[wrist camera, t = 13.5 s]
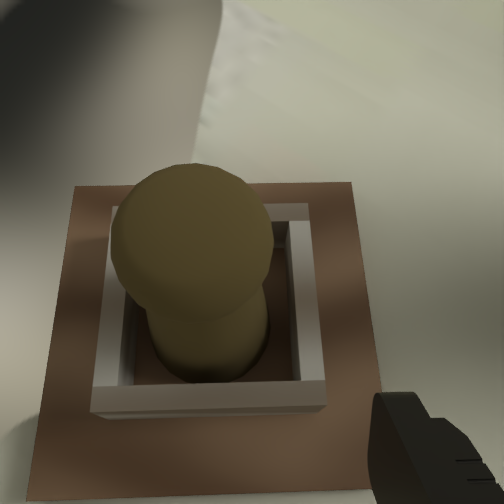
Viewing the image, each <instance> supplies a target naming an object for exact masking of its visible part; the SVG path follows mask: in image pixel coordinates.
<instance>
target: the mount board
mask: <svg viewBox="0 0 504 504" xmlns="http://www.w3.org/2000/svg"><path fill="white" fill-rule="evenodd" d="M248 185H249V186H250V187H251V188H252V189H253V190H254V191H255V192H256V193H257V194H258V196H259V197H260V199H261V201H262V203H263V205H264V207H265V209H266V210H267V212H268V215H269V217H270V220H271V224H272V231H273V238H274V247H273V252H272V257H271V262H270V267H269V272H268V274H267V276H266V278H265V279H264V281H263V283H262V287H263V291H264V295H265V299H266V303H267V307H268V311H269V319H270V326H271V329H270V334H269V339H268V344H267V347H266V349H265V351H264V353H263V354H262V356H261V358H260V360H259V362H258V363H257V364H256V365H255V366H254V367H253V368H252V369H250V370H249V371H248V372H247V373H246V374H245V375H244V376H242V377H240V378H238V379H236V380H234V381H231V382H229V383H202V384H191V383H187V382H185V381H183V380H181V379H180V378H178V377H176V376H175V375H173V374H171V373H170V372H169V371H168V370H167V369H166V368H165V366H164V365H163V364H162V363H161V361H160V360H159V359H158V358H157V355H156V353H155V350H154V347H153V344H152V342H151V337H150V331H149V325H148V319H147V313H146V309H144V308H143V307H141V306H139V305H138V304H137V303H136V301H135V300H134V299H133V298H132V297H131V296H130V294H129V293H128V292H127V291H126V290H125V288H124V287H123V286H122V284H121V283H120V282H119V280H118V277H117V274H116V272H115V269H114V266H113V263H112V260H111V254H110V243H111V225H112V222H113V220H114V217H115V215H116V212H117V209H118V207H119V205H120V204H121V203H122V201H123V200H124V199H125V198H126V196H127V195H128V194H129V193H130V191H131V190H132V189H133V188H134V187H135V186H136V185H125V186H75V189H74V195H73V202H72V208H71V215H70V221H69V227H68V234H67V240H66V247H65V254H64V260H63V266H62V273H61V279H60V286H59V292H58V298H57V305H56V311H55V317H54V324H53V330H52V337H51V344H50V350H49V356H48V362H47V369H46V376H45V382H44V388H43V395H42V401H41V408H40V414H39V420H38V427H37V433H36V440H35V446H34V453H33V459H32V465H31V472H30V478H29V485H28V491H27V498H26V501H52V500H80V499H107V498H134V497H162V496H189V495H216V494H244V493H271V492H298V491H326V490H353V489H372V487H371V483H370V479H369V473H368V463H367V453H368V442H369V432H370V422H371V412H372V402H373V397H374V395H375V393H381V392H382V389H381V382H380V375H379V369H378V362H377V355H376V348H375V341H374V334H373V328H372V321H371V314H370V307H369V300H368V294H367V287H366V280H365V273H364V266H363V259H362V253H361V246H360V239H359V232H358V225H357V218H356V212H355V205H354V198H353V191H352V184H351V182H324V183H257V184H248Z"/></svg>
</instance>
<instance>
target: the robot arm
mask: <svg viewBox="0 0 504 504" xmlns="http://www.w3.org/2000/svg"><path fill="white" fill-rule="evenodd" d="M367 463H368V473H369V479H370V483H371V487H372V490H373V493H374V496H375V499H376V502H377V504H504V491H503V490H502V488H501V486H500V485H499V483H497V484H496V482H495V477H494V476H493V474H492V473H491V471H490V470H489V468H488V467H487V465H486V464H483V462H482V458H481V456H480V455H479V453H478V452H477V450H476V449H475V447H474V446H473V444H472V443H471V441H470V440H469V438H468V437H467V436H466V435H465V434H464V433H463V432H461V431H460V430H459V429H458V428H456V427H455V426H454V425H453V424H451V423H450V422H449V421H448V420H446V419H445V418H430V416H429V414H428V413H427V411H426V409H425V408H424V406H423V404H422V403H421V401H420V399H419V397H418V396H417V394H416V393H414V392H381V393H375V395H374V397H373V402H372V412H371V422H370V432H369V442H368V453H367Z"/></svg>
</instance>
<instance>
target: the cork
mask: <svg viewBox="0 0 504 504" xmlns="http://www.w3.org/2000/svg"><path fill="white" fill-rule="evenodd" d="M273 247H274V238H273V231H272V224H271V220H270V217H269V215H268V212H267V210H266V209H265V207H264V205H263V203H262V201H261V199H260V197H259V196H258V194H257V193H256V192H255V191H254V190H253V189H252V188H251V187H250V186H249V185H248V184H246V183H245V182H244V181H243V180H242V179H241V178H239V177H237V176H235V175H233V174H231V173H228V172H226V171H224V170H222V169H220V168H218V167H214V166H209V165H203V164H198V163H193V164H181V165H174V166H171V167H168V168H165V169H162V170H159V171H157V172H154V173H152V174H151V175H150V176H148V177H147V178H145V179H144V180H142V181H141V182H139V183H138V184H136V186H135V187H134V188H133V189H132V190H131V191H130V193H129V194H128V195H127V196H126V198H125V199H124V200H123V201H122V203H121V204H120V205H119V207H118V209H117V212H116V215H115V217H114V220H113V222H112V225H111V243H110V254H111V260H112V263H113V266H114V269H115V272H116V274H117V277H118V280H119V282H120V283H121V284H122V286H123V287H124V288H125V290H126V291H127V292H128V293H129V294H130V296H131V297H132V298H133V299H134V300H135V301H136V303H137V304H138V305H139V306H141V307H143V308H144V309H146V313H147V319H148V325H149V331H150V337H151V342H152V344H153V347H154V350H155V353H156V355H157V358H158V359H159V360H160V361H161V363H162V364H163V365H164V366H165V368H166V369H167V370H168V371H169V372H170V373H171V374H173V375H175V376H176V377H178V378H180V379H181V380H183V381H185V382H187V383H191V384H202V383H229V382H231V381H234V380H236V379H238V378H240V377H242V376H244V375H245V374H246V373H247V372H248V371H249V370H250V369H252V368H253V367H254V366H255V365H256V364H257V363H258V362H259V360H260V358H261V356H262V354H263V353H264V351H265V349H266V347H267V344H268V339H269V334H270V329H271V326H270V319H269V311H268V307H267V303H266V299H265V295H264V291H263V287H262V283H263V281H264V279H265V278H266V276H267V274H268V272H269V267H270V262H271V257H272V252H273Z"/></svg>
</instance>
